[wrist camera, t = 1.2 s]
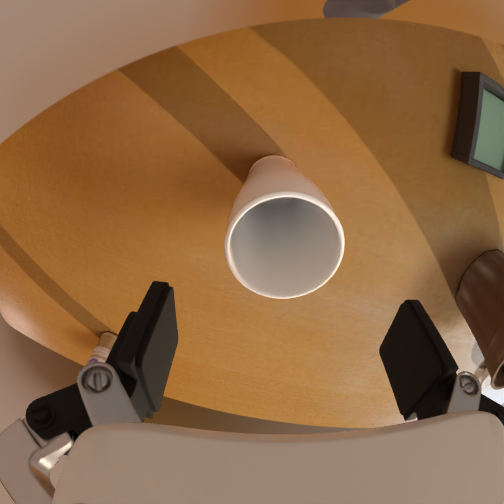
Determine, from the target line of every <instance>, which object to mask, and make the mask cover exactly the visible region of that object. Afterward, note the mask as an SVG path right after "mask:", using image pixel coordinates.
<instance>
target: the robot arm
mask: <svg viewBox="0 0 504 504" xmlns="http://www.w3.org/2000/svg"><path fill="white" fill-rule="evenodd" d="M177 344H178V330H177V321H176V312H175V301H174V290H173V287H169V284H168V283H167V282H159V281H153V282H152V284H151V286H150V288H149V290H148V292H147V294H146V296H145V298H144V300H143V302H142V304H141V306H140V308H139V309H138V311H137V312H133V311H132V312H130V314H129V315H128V317H127V319H126V321H125V323H124V325H123V327H122V329H121V331H120V333H119V335H118V337H117V339H116V341H115V343H114V345H113V347H112V349H111V351H110V353H109V355H108V357H107V359H106V361H105V363H104V362H93V363H90V364H88V365H86V366H85V367H84V368H82V369H81V371H80V372H79V374H78V377H77V383H75V384H73V385H71V386H68V387H66V388H63V389H61V390H59V391H56V392H54V393H51V394H48V395H46V396H44V397H41V398H38V399H36V400H34V401H33V402H32V403H31V404H30V405H29V406H28V408H27V410H26V418H24V419H23V420H21V419H20V418H19V419H18V420H17V421H15V422H14V423H13V424H11V425H10V426H9V427H8V428H6V429H5V430H4V431H3V432H1V433H0V481H1V483H2V485H3V486H4V488H5V489H6V491H7V492H8V494H9V495H10V497H11V498H12V500H13V501H14V502H15V504H504V407H503V406H501V405H500V404H498V403H496V402H495V401H493V400H491V399H489V398H488V397H486V396H484V395H483V394H481V384H480V382H479V380H478V378H477V377H476V376H475V375H473V374H472V373H470V372H465V371H463V372H460V373H459V374H458V375H457V374H456V371H457V370H458V366H457V364H456V362H455V360H454V358H453V357H452V355H451V353H450V351H449V349H448V348H447V346H446V344H445V342H444V341H443V339H442V337H441V335H440V334H439V332H438V330H437V329H436V327H435V325H434V324H433V322H432V320H431V319H430V317H429V315H428V314H427V312H426V311H425V309H424V308H423V306H422V304H421V303H420V302H419V300H406V301H404V303H402V304H401V305H400V307H399V310H398V312H397V314H396V316H395V318H394V320H393V322H392V324H391V326H390V328H389V330H388V332H387V334H386V336H385V338H384V340H383V342H382V344H381V346H380V350H379V353H380V356H381V359H382V362H383V364H384V367H385V370H386V373H387V375H388V378H389V381H390V384H391V387H392V390H393V393H394V396H395V399H396V402H397V405H398V408H399V411H400V413H401V415H403V416H404V419H405V421H408V420H412V419H415V418H416V417H417V418H418V420H417V421H413V422H408V423H403V424H397V425H391V426H385V427H379V428H372V429H364V430H357V431H346V432H335V433H320V434H280V435H279V434H248V433H233V432H221V431H210V430H201V429H192V428H185V427H178V426H170V425H162V424H155V423H143V422H144V420H145V417H148V418H153V414H154V411H155V412H158V411H159V409H160V405H161V401H162V398H163V394H164V390H165V387H166V383H167V379H168V376H169V372H170V368H171V365H172V361H173V358H174V354H175V351H176V347H177ZM62 455H67V458H66V460H65V462H64V465H63V467H62V470H61V473H60V476H59V479H58V482H57V486H56V489H55V488H54V487H53V485H52V484H51V482H50V477H49V474H50V470H51V468H52V467H53V466H54V465H55V464H57V463H58V461H57V459H58V458H60V457H61V456H62Z"/></svg>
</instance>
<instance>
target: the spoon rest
mask: <svg viewBox="0 0 504 504" xmlns="http://www.w3.org/2000/svg"><path fill="white" fill-rule="evenodd" d="M490 382H491V377H490V374H489V372H488V370H487V367H486V369H485V371H484V373H483V375H482V378H481V386H482V387H485V386H489V385H491V383H490Z"/></svg>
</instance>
